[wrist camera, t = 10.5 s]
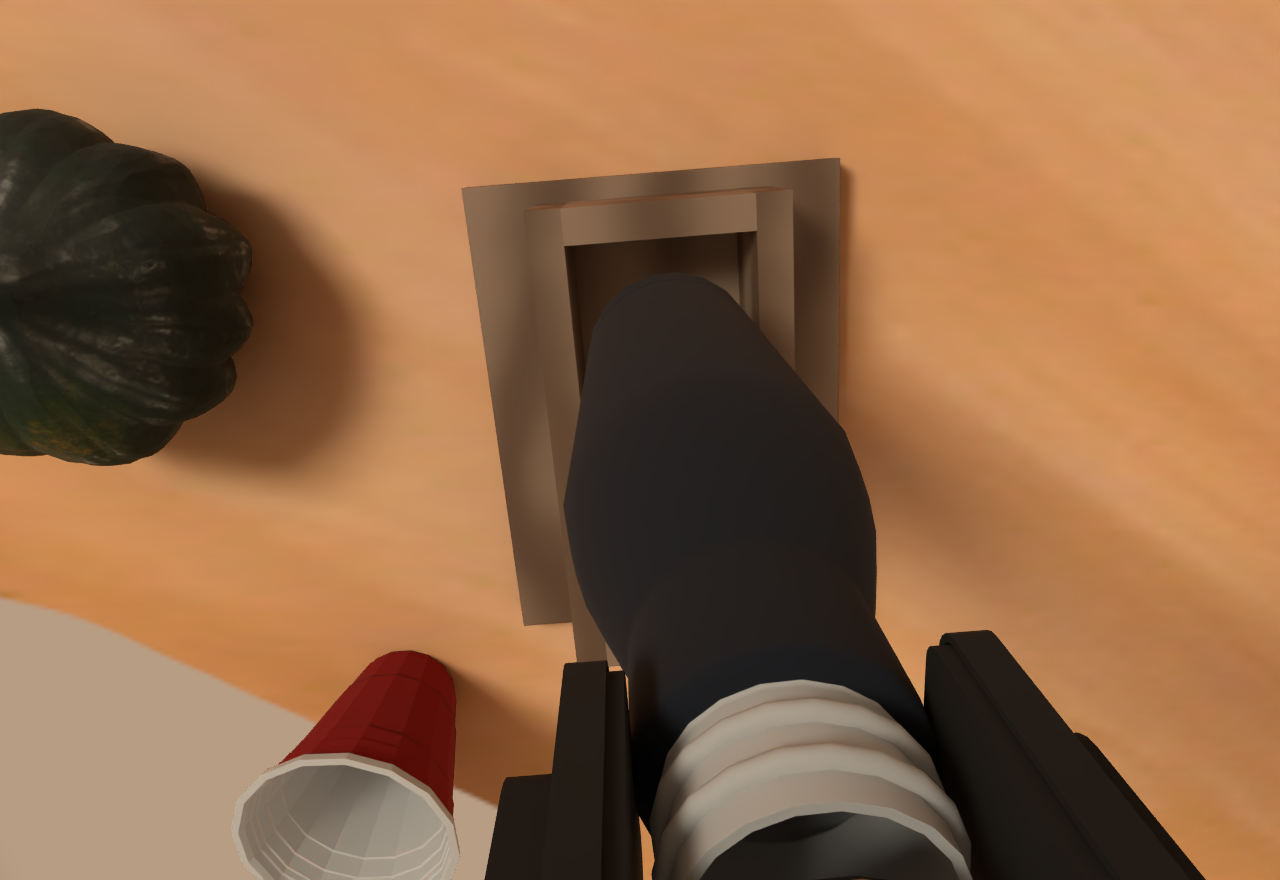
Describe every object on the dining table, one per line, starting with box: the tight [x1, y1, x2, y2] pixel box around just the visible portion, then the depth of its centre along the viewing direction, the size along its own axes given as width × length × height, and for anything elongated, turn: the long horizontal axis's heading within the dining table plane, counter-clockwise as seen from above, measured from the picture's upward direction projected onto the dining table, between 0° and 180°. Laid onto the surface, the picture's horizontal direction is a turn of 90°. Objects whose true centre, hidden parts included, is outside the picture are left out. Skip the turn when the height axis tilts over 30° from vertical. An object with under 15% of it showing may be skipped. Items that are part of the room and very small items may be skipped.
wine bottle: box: [563, 272, 973, 880], centre depth 16 cm, size 6×6×30 cm
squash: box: [0, 109, 253, 466], centre depth 35 cm, size 14×15×15 cm
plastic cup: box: [231, 651, 460, 880], centre depth 43 cm, size 11×11×12 cm
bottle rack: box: [462, 158, 840, 667], centre depth 40 cm, size 18×24×8 cm
